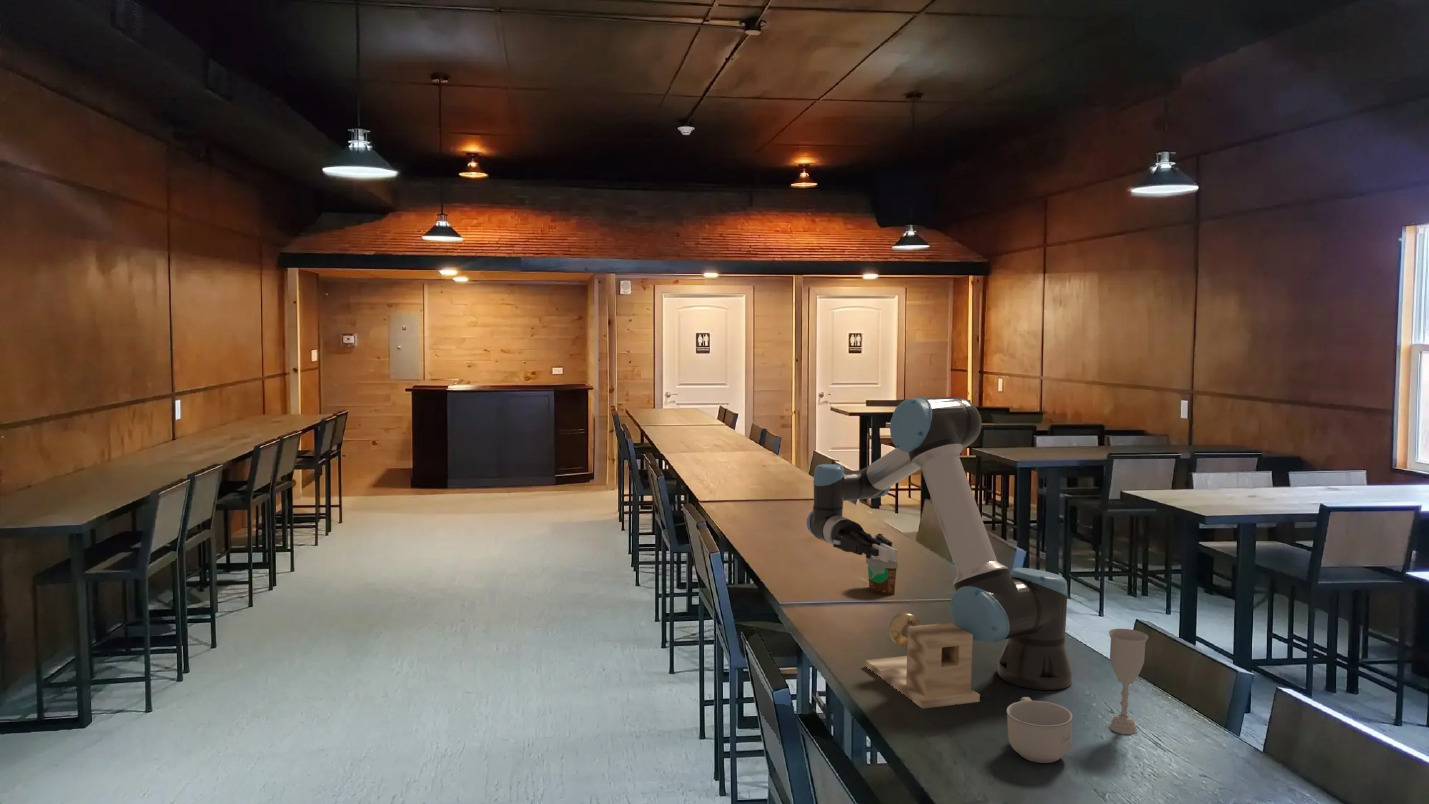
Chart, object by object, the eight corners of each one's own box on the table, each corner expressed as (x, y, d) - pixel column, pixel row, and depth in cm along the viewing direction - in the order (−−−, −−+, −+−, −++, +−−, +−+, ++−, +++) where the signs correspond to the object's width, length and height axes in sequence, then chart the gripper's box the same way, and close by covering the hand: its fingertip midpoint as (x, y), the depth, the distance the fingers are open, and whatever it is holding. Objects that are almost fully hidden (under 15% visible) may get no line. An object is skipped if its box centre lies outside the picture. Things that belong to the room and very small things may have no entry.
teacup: (1075, 773, 156) (1077, 726, 156) (1008, 765, 159) (1010, 720, 158) (1062, 738, 170) (1064, 695, 169) (1000, 732, 172) (1001, 689, 172)
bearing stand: (865, 666, 205) (867, 606, 204) (917, 661, 209) (919, 602, 208) (922, 708, 182) (924, 641, 181) (979, 701, 186) (982, 635, 185)
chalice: (1110, 717, 180) (1115, 626, 178) (1148, 727, 175) (1153, 633, 174) (1098, 729, 174) (1103, 635, 173) (1137, 740, 170) (1142, 643, 168)
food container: (857, 586, 272) (858, 552, 271) (876, 584, 274) (877, 551, 273) (877, 597, 260) (878, 562, 259) (896, 596, 262) (898, 561, 261)
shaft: (888, 645, 201) (889, 613, 201) (916, 642, 203) (917, 611, 203) (917, 664, 190) (918, 630, 189) (947, 661, 192) (948, 627, 192)
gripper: (870, 547, 232) (919, 570, 209) (817, 550, 227) (861, 574, 205) (871, 517, 231) (920, 537, 209) (817, 520, 226) (862, 541, 204)
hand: (891, 556), depth 207 cm, fingers closed
